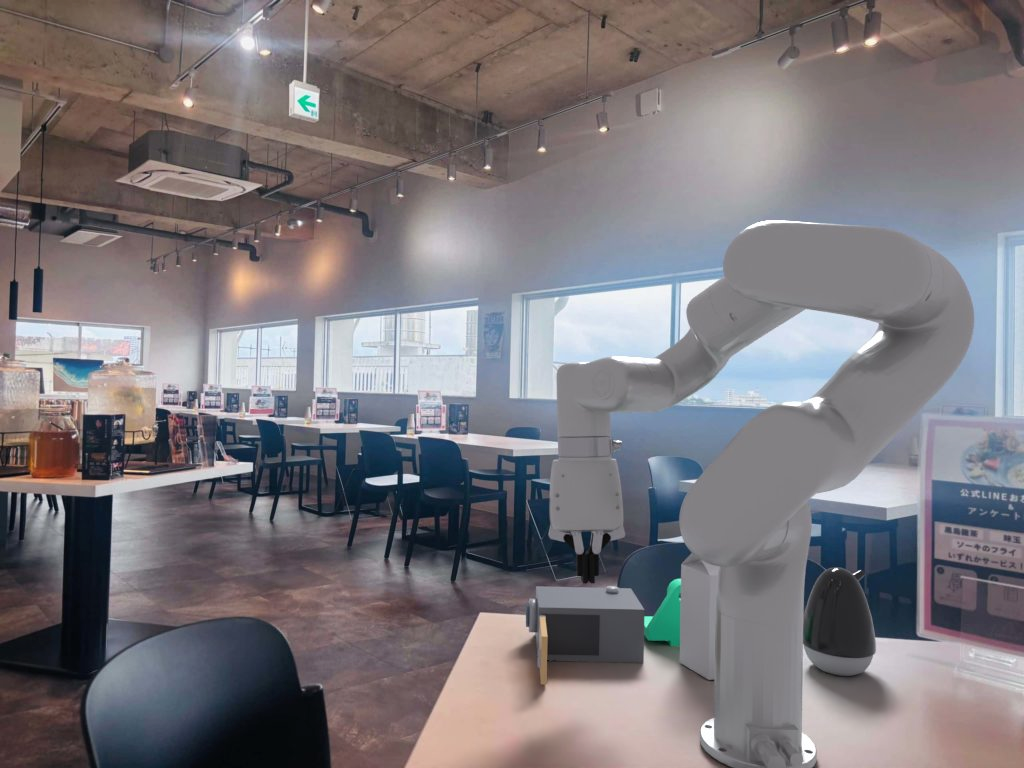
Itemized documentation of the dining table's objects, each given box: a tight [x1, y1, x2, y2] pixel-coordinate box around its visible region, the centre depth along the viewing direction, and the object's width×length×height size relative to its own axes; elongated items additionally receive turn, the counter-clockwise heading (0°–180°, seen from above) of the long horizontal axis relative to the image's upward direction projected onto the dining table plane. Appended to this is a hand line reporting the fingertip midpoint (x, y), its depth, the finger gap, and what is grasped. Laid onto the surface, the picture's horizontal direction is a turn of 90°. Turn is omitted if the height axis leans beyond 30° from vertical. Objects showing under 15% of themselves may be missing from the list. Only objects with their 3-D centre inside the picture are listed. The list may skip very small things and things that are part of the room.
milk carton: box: [679, 552, 720, 681], centre depth 105 cm, size 7×7×19 cm
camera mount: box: [644, 578, 681, 647], centre depth 118 cm, size 12×8×10 cm, turn 92°
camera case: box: [525, 585, 645, 664], centre depth 112 cm, size 12×18×9 cm
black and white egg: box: [803, 566, 877, 677], centre depth 106 cm, size 10×10×15 cm
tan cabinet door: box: [537, 615, 548, 685], centre depth 101 cm, size 1×10×6 cm, turn 179°
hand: (587, 581), depth 98 cm, fingers closed
